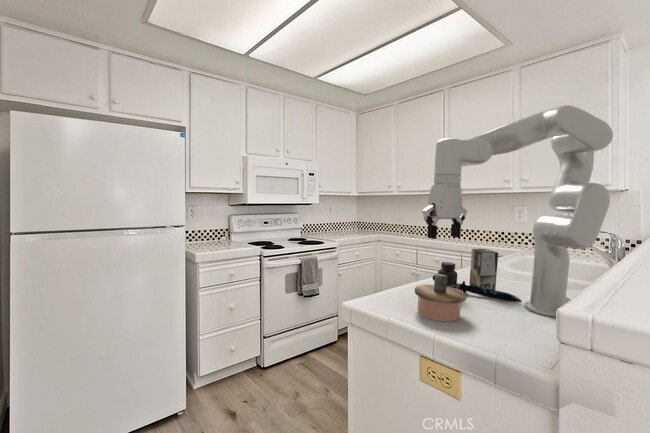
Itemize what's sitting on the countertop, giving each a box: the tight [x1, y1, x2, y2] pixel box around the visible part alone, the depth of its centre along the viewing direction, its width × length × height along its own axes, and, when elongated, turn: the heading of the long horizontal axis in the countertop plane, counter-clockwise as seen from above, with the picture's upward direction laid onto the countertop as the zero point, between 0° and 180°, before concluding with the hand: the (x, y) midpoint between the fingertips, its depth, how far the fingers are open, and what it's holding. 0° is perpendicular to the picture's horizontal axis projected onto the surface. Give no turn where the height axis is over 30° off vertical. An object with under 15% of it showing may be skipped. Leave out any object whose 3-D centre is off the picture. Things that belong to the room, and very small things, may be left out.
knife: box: [432, 274, 523, 303], centre depth 121 cm, size 31×3×4 cm, turn 60°
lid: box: [414, 273, 467, 303], centre depth 100 cm, size 15×15×6 cm
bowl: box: [417, 295, 462, 322], centre depth 101 cm, size 12×12×6 cm
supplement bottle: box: [437, 261, 458, 289], centre depth 120 cm, size 7×7×12 cm
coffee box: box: [468, 248, 499, 290], centre depth 127 cm, size 9×6×16 cm
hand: (443, 237), depth 99 cm, fingers open, 9 cm apart
